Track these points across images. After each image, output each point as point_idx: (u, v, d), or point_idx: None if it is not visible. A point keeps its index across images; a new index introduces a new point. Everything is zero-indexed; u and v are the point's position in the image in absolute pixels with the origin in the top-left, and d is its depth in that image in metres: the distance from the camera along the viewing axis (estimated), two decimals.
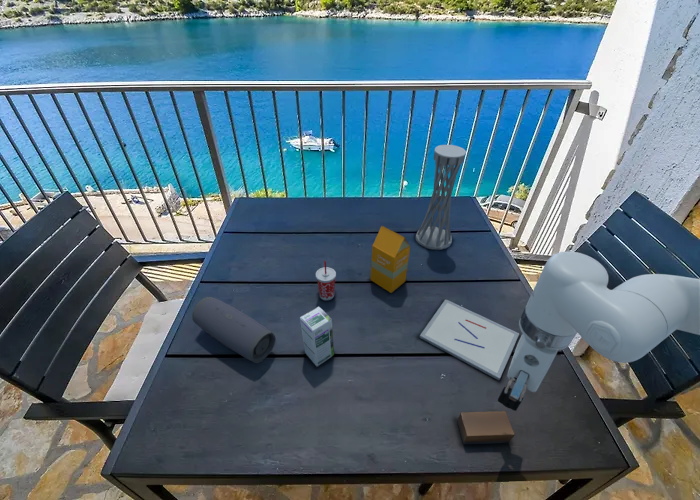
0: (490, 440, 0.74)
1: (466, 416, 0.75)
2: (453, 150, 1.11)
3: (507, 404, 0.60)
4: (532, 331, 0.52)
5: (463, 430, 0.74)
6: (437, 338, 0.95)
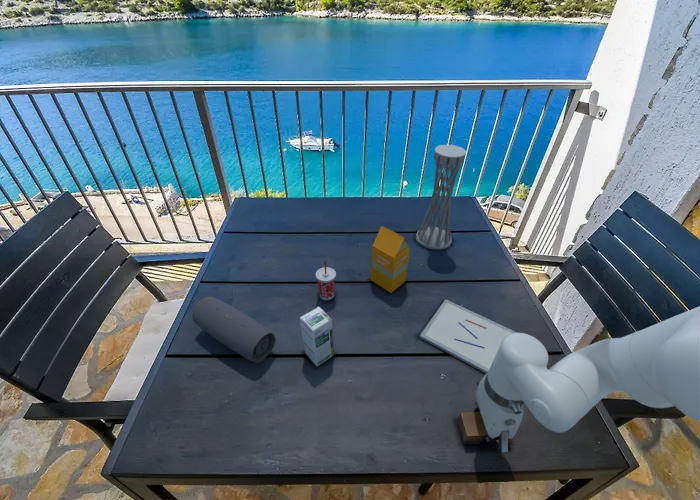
0: None
1: (466, 416, 0.75)
2: (453, 150, 1.11)
3: (490, 446, 0.73)
4: (505, 403, 0.62)
5: (463, 430, 0.74)
6: (437, 338, 0.95)
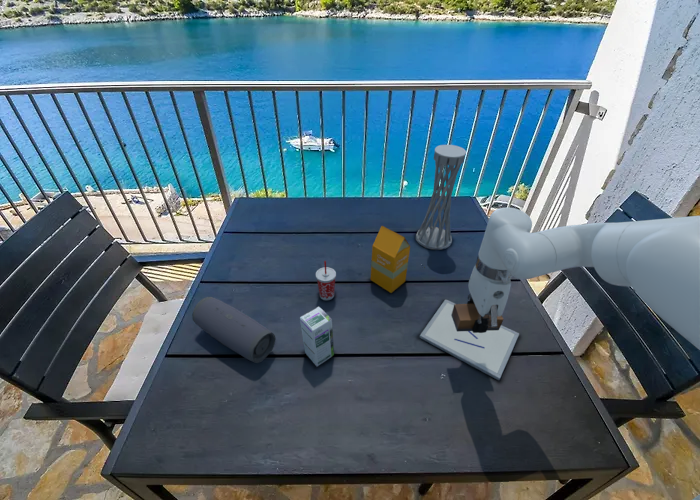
0: None
1: (459, 306, 0.82)
2: (453, 150, 1.11)
3: (481, 330, 0.79)
4: (494, 274, 0.69)
5: (456, 318, 0.81)
6: (437, 338, 0.95)
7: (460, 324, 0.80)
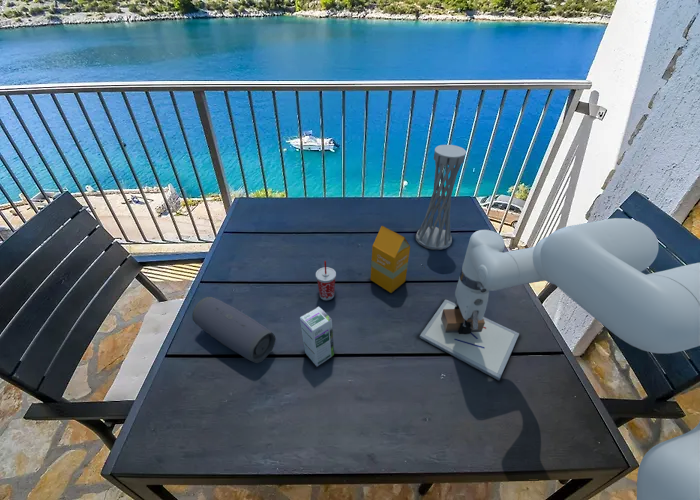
0: None
1: (447, 311, 0.95)
2: (453, 150, 1.11)
3: (466, 332, 0.93)
4: (474, 285, 0.82)
5: (445, 321, 0.94)
6: (437, 338, 0.95)
7: (448, 326, 0.93)
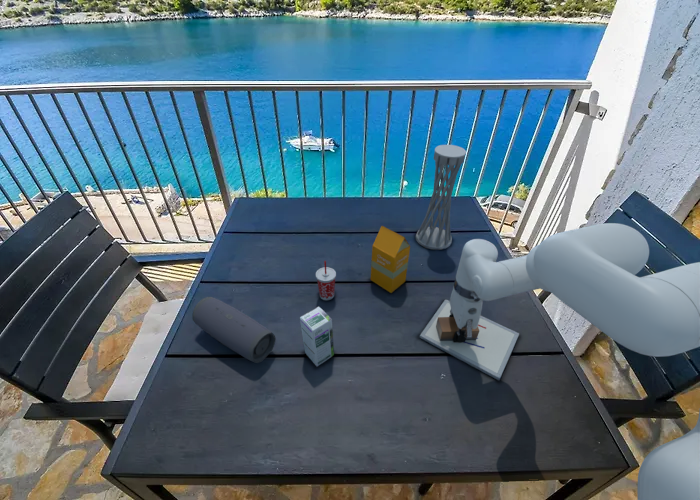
0: None
1: (442, 319, 0.95)
2: (453, 150, 1.11)
3: (460, 340, 0.92)
4: (468, 294, 0.82)
5: (439, 329, 0.94)
6: (437, 338, 0.95)
7: (442, 335, 0.93)
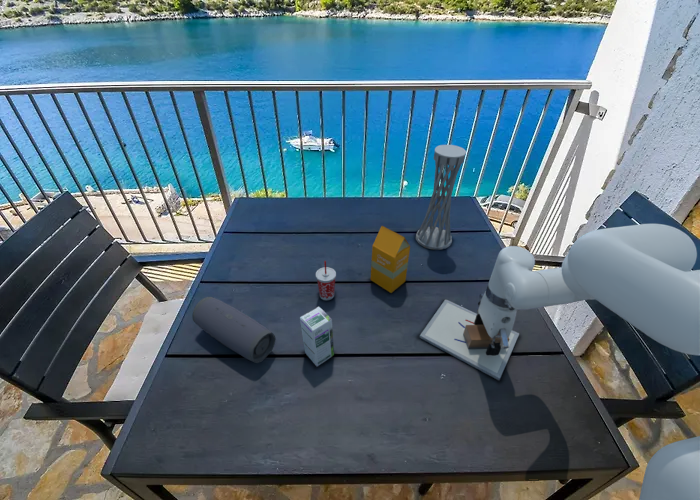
0: None
1: (470, 327, 0.93)
2: (453, 150, 1.11)
3: (494, 353, 0.88)
4: (502, 302, 0.80)
5: (468, 337, 0.92)
6: (437, 338, 0.95)
7: (471, 343, 0.91)
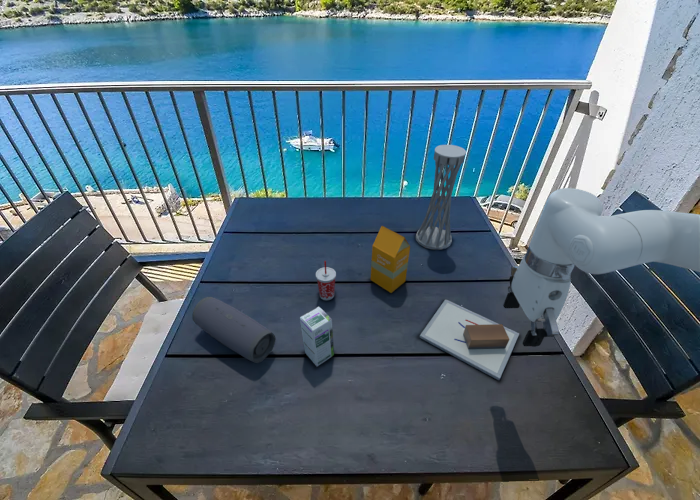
0: (490, 345, 0.91)
1: (470, 327, 0.93)
2: (453, 150, 1.11)
3: (535, 343, 0.65)
4: (551, 270, 0.57)
5: (468, 337, 0.92)
6: (437, 338, 0.95)
7: (471, 343, 0.91)
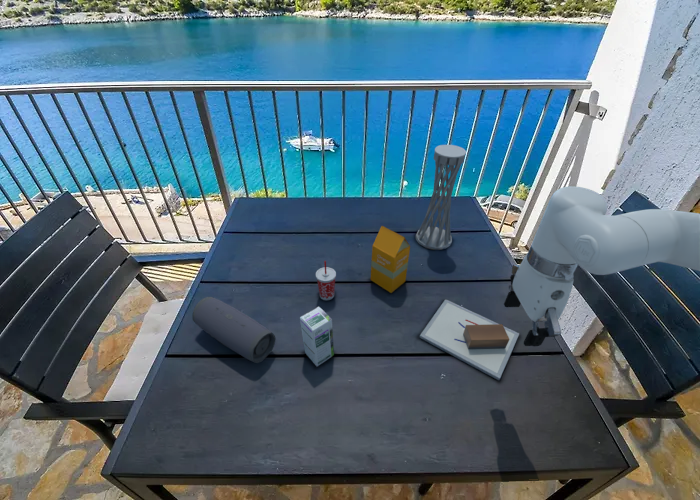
0: (490, 345, 0.91)
1: (470, 327, 0.93)
2: (453, 150, 1.11)
3: (536, 343, 0.64)
4: (554, 269, 0.56)
5: (468, 337, 0.92)
6: (437, 338, 0.95)
7: (471, 343, 0.91)
